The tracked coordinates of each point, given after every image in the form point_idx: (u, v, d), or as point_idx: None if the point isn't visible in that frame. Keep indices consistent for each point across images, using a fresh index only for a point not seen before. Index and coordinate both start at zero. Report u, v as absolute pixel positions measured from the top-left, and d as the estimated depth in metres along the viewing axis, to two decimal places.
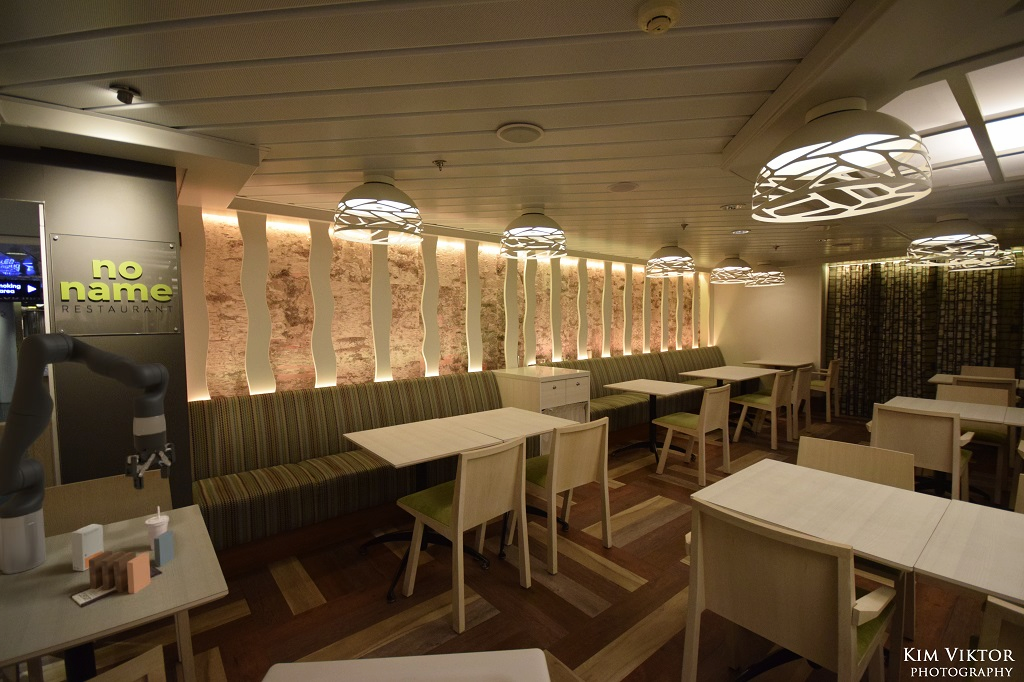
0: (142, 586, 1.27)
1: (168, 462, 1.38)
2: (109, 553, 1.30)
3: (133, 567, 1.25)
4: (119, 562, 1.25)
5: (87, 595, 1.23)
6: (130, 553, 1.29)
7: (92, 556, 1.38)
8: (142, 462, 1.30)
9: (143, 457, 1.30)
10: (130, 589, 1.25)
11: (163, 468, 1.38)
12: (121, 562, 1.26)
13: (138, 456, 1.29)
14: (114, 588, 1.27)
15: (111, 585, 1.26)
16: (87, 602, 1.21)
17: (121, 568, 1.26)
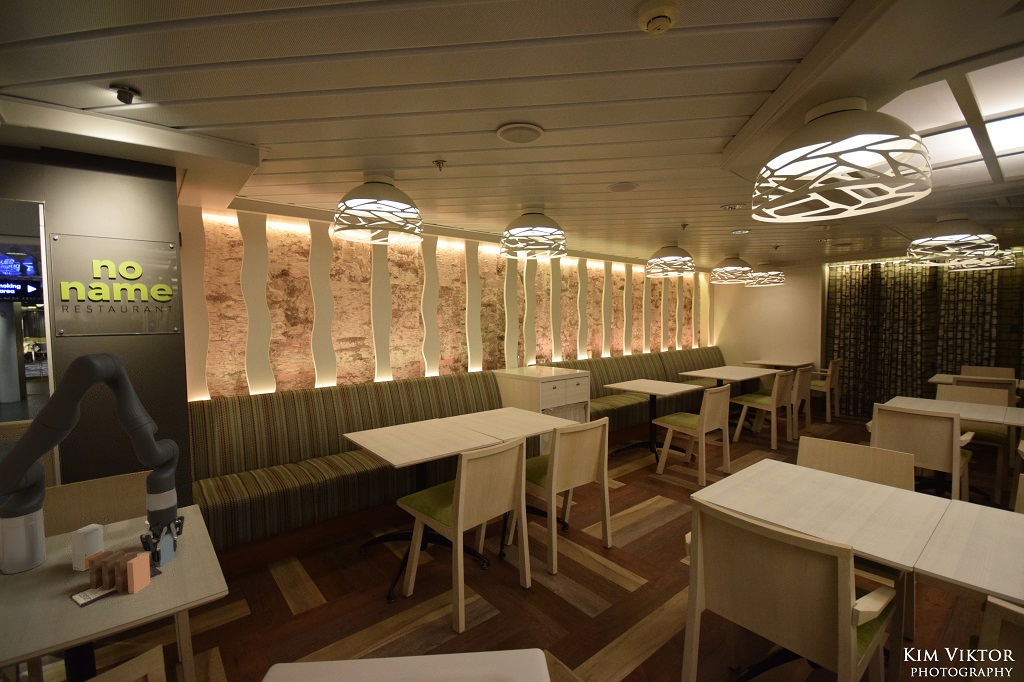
0: (142, 586, 1.27)
1: (175, 536, 1.44)
2: (109, 553, 1.30)
3: (133, 567, 1.25)
4: (120, 562, 1.25)
5: (87, 595, 1.23)
6: (131, 553, 1.29)
7: (92, 556, 1.38)
8: None
9: (156, 531, 1.37)
10: (130, 589, 1.25)
11: None
12: (122, 562, 1.26)
13: (151, 534, 1.36)
14: (114, 588, 1.27)
15: (111, 585, 1.26)
16: (87, 602, 1.21)
17: (122, 569, 1.26)
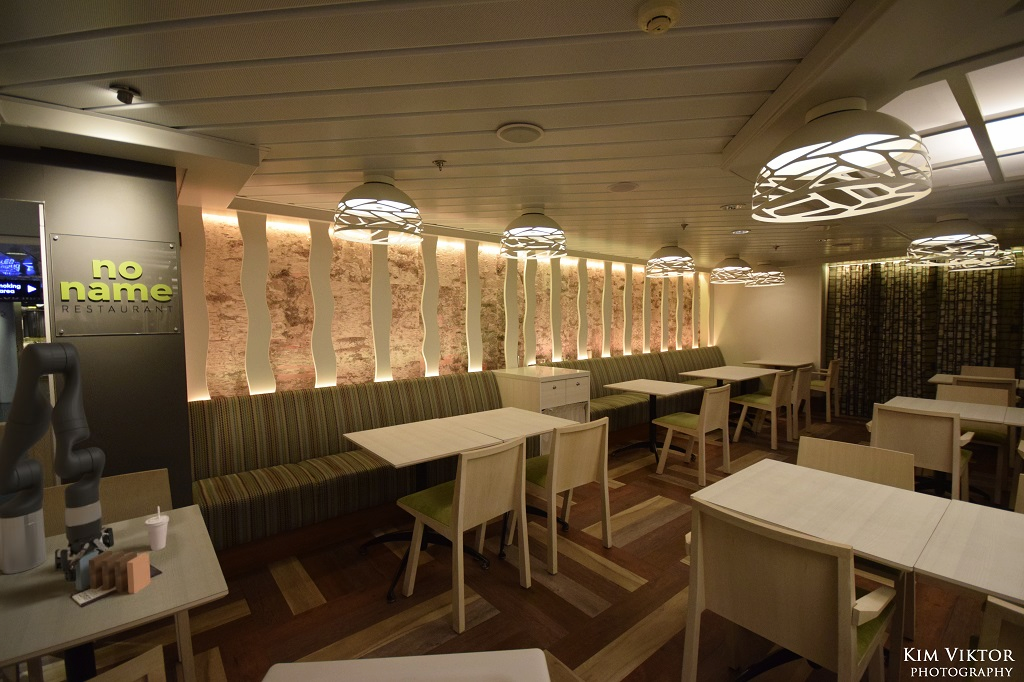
0: (142, 586, 1.27)
1: (105, 548, 1.33)
2: (109, 553, 1.30)
3: (133, 567, 1.25)
4: (120, 562, 1.25)
5: (87, 595, 1.24)
6: (131, 553, 1.29)
7: None
8: (75, 553, 1.26)
9: (75, 548, 1.25)
10: (130, 589, 1.25)
11: None
12: (122, 562, 1.26)
13: (69, 548, 1.24)
14: (114, 588, 1.27)
15: (111, 585, 1.26)
16: (87, 602, 1.21)
17: (122, 569, 1.26)
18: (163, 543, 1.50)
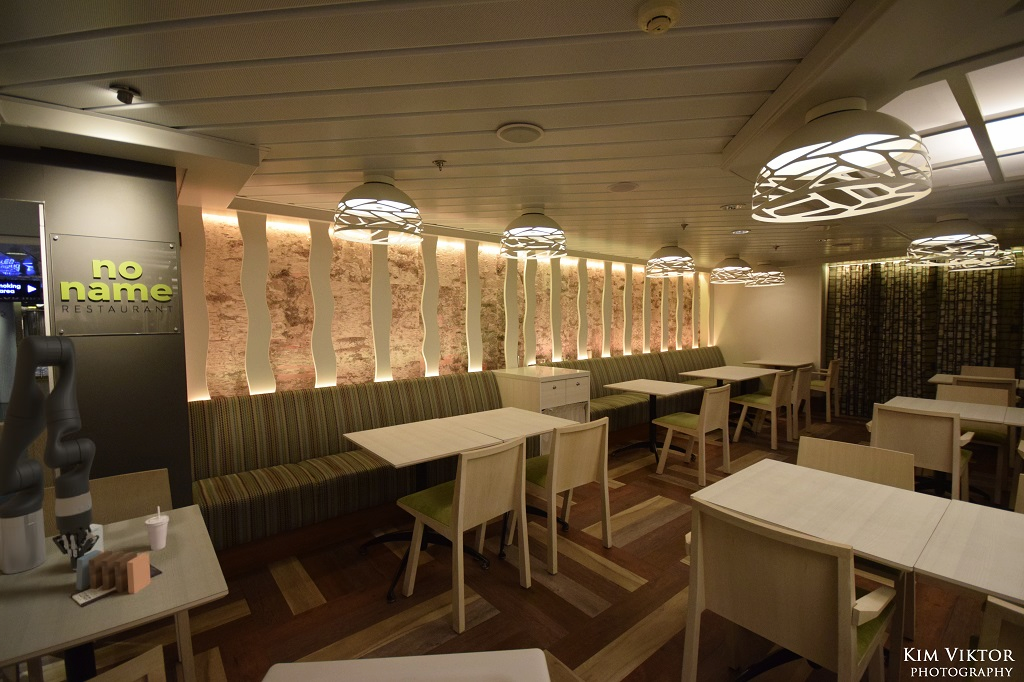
0: (142, 586, 1.27)
1: (75, 553, 1.27)
2: (109, 553, 1.30)
3: (133, 567, 1.25)
4: (120, 562, 1.25)
5: (87, 595, 1.24)
6: (131, 553, 1.29)
7: None
8: None
9: (62, 535, 1.28)
10: (130, 589, 1.25)
11: None
12: (122, 562, 1.26)
13: (61, 539, 1.28)
14: (114, 588, 1.27)
15: (111, 585, 1.26)
16: (87, 602, 1.21)
17: (122, 569, 1.26)
18: (163, 543, 1.50)
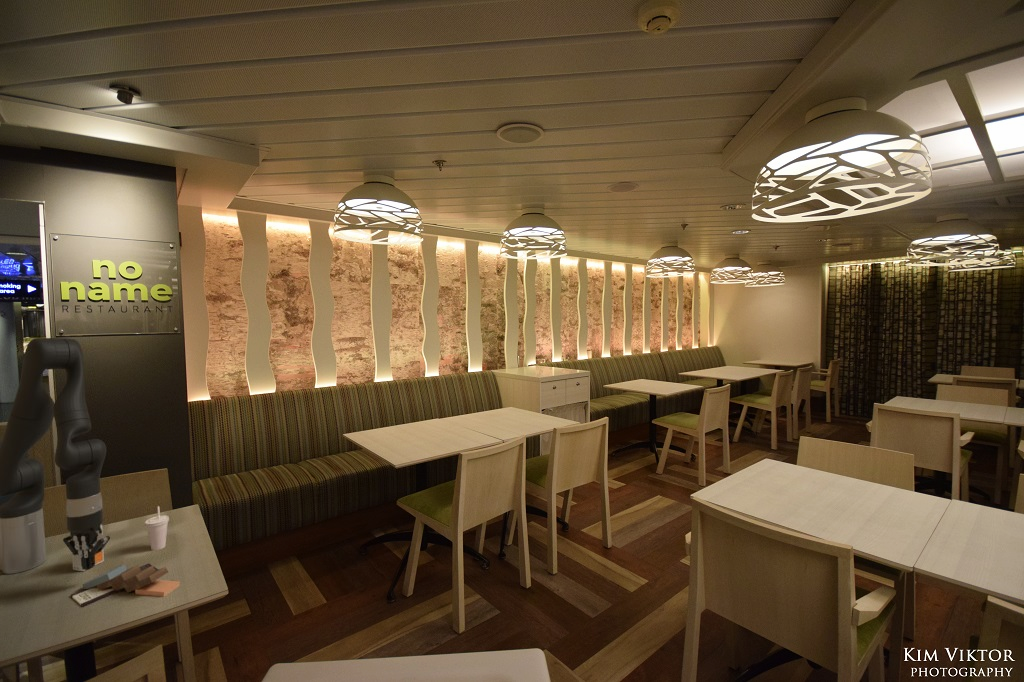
0: None
1: (86, 554, 1.27)
2: (137, 572, 1.29)
3: None
4: None
5: (87, 595, 1.24)
6: (164, 571, 1.28)
7: None
8: None
9: (72, 535, 1.27)
10: (139, 592, 1.25)
11: None
12: (152, 581, 1.25)
13: (71, 539, 1.28)
14: None
15: (120, 588, 1.26)
16: (87, 602, 1.21)
17: None
18: (163, 543, 1.50)
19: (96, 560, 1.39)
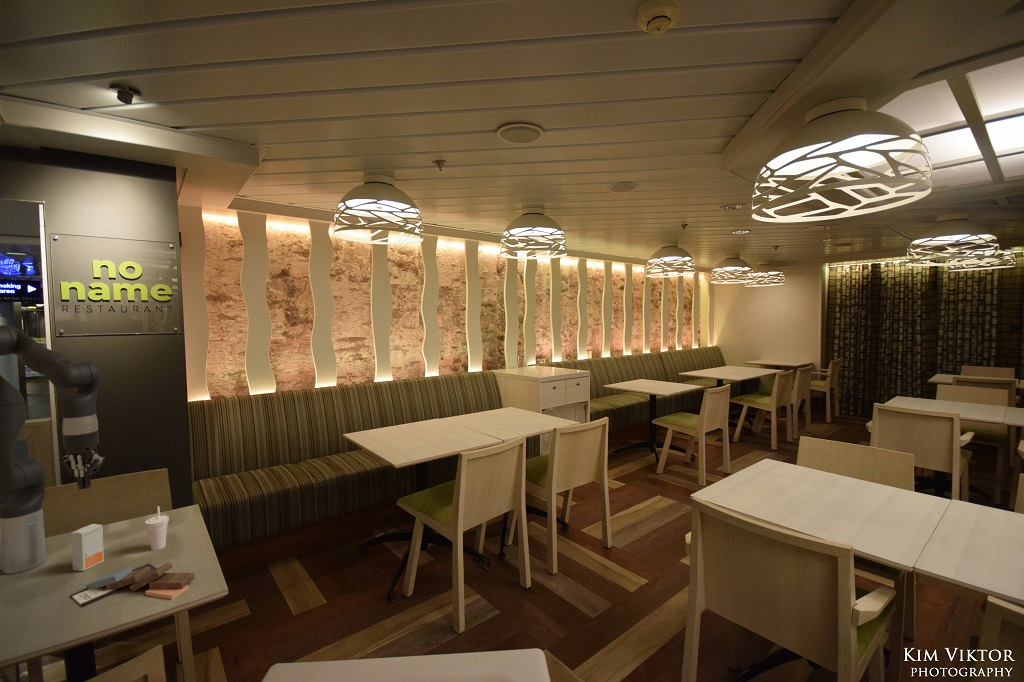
0: None
1: (82, 473, 1.30)
2: (148, 573, 1.30)
3: None
4: None
5: (87, 595, 1.24)
6: (192, 577, 1.29)
7: (92, 556, 1.38)
8: None
9: (68, 455, 1.31)
10: (148, 594, 1.24)
11: None
12: None
13: (68, 460, 1.31)
14: None
15: (138, 588, 1.26)
16: (87, 602, 1.21)
17: None
18: (163, 543, 1.50)
19: (96, 560, 1.39)
